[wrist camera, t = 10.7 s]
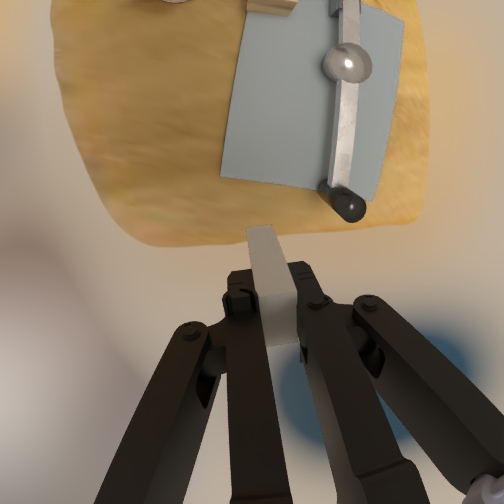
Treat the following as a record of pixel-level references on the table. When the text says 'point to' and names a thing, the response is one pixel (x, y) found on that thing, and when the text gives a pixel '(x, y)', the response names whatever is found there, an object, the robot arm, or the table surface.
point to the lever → (345, 108)
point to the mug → (175, 1)
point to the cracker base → (308, 98)
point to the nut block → (271, 6)
